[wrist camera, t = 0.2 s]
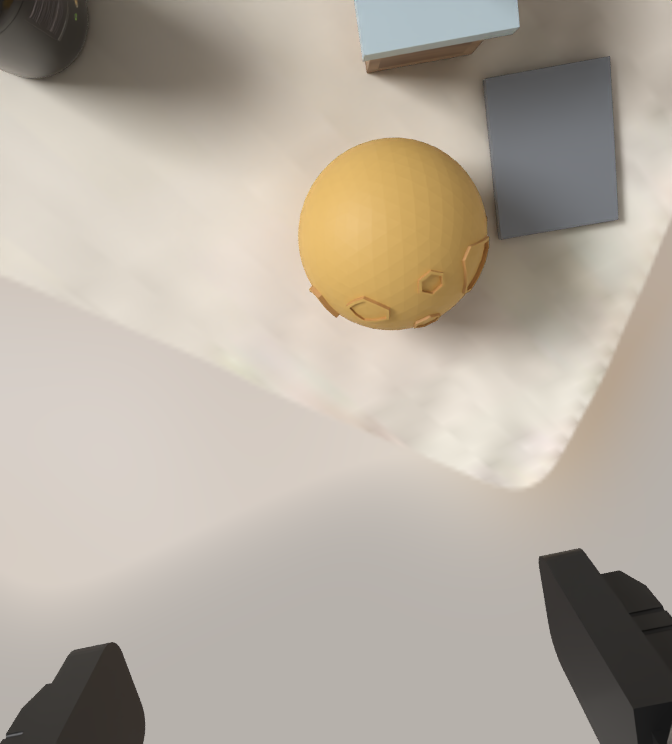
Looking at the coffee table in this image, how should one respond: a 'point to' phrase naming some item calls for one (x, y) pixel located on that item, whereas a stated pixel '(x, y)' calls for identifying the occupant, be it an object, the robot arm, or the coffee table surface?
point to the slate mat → (552, 147)
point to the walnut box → (422, 56)
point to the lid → (430, 24)
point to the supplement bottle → (41, 35)
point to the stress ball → (392, 234)
